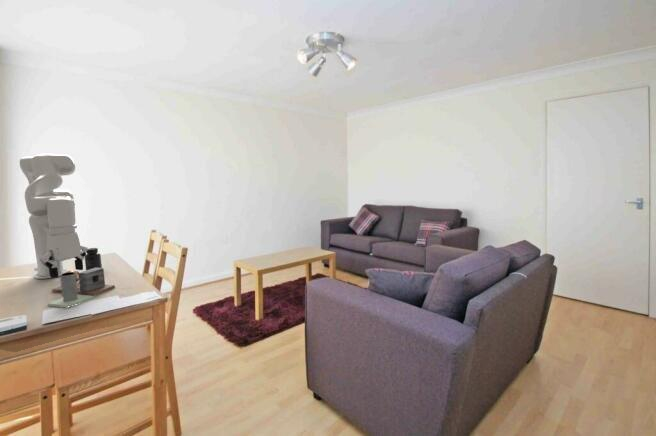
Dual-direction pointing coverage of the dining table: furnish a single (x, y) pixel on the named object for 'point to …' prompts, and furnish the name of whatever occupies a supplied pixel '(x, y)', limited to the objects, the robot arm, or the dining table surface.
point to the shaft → (75, 274)
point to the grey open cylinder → (68, 286)
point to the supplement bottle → (92, 259)
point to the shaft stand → (90, 283)
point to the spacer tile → (69, 303)
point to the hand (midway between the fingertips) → (67, 273)
